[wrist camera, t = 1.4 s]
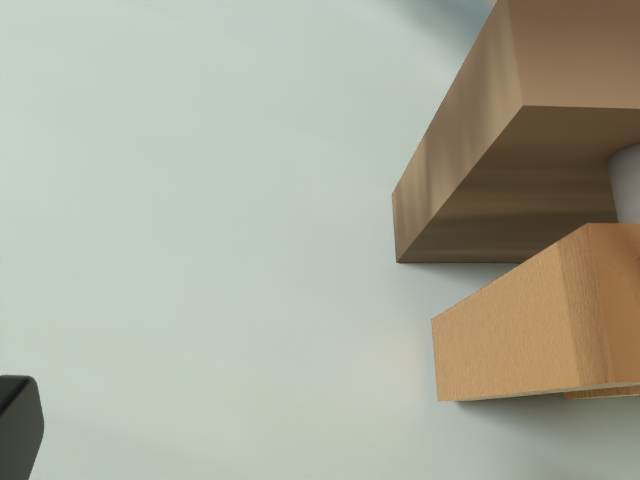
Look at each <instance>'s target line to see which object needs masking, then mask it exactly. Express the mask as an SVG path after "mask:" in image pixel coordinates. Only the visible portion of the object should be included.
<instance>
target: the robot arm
mask: <svg viewBox="0 0 640 480" xmlns="http://www.w3.org/2000/svg"><path fill="white" fill-rule="evenodd" d="M43 434H44V418H43V413H42V407H41V402H40V396H39V391H38V386H37V383H36V381H35V379H34V378H33V377H31V376H24V375H1V376H0V480H29V477H30V474H31V471H32V468H33V465H34V462H35V459H36V456H37V453H38V450H39V448H40V445H41V442H42V438H43Z"/></svg>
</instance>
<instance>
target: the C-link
mask: <svg viewBox="0 0 640 480" xmlns="http://www.w3.org/2000/svg"><path fill="white" fill-rule="evenodd" d="M431 322H432V334H433V346H434V358H435V371H436V383H437V395H438V401H473V400H483V399H494V398H505V397H516V396H527V395H538V394H548V393H559V392H563V396H564V399H590V398H609V397H625V396H640V224H630V223H587V224H585V225H583V226H582V227H580V228H578V229H577V230H575V231H574V232H572V233H570V234H569V235H567V236H565V237H564V238H562V239H561V240H559V241H557V242H556V243H554V244H553V245H551V246H549V247H548V248H546V249H544V250H543V251H541V252H540V253H538V254H536V255H535V256H533V257H532V258H530V259H528V260H527V261H525V262H523V263H522V264H520V265H519V266H517V267H515V268H514V269H512V270H511V271H509V272H507V273H506V274H504V275H502V276H501V277H499V278H498V279H496V280H494V281H493V282H491V283H490V284H488V285H486V286H485V287H483V288H481V289H480V290H478V291H477V292H475V293H473V294H472V295H470V296H469V297H467V298H465V299H464V300H462V301H460V302H459V303H457V304H456V305H454V306H452V307H451V308H449V309H448V310H446V311H444V312H443V313H441V314H439V315H438V316H436V317H435V318H433V319H431Z"/></svg>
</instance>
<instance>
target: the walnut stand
mask: <svg viewBox="0 0 640 480" xmlns="http://www.w3.org/2000/svg"><path fill="white" fill-rule="evenodd" d="M392 203H393V219H394V234H395V250H396V262H414V263H523V262H525V261H527V260H528V259H530V258H532V257H533V256H535V255H536V254H538V253H540V252H541V251H543V250H544V249H546V248H548V247H549V246H551V245H553V244H554V243H556V242H557V241H559V240H561V239H562V238H564V237H565V236H567V235H569V234H570V233H572V232H574V231H575V230H577V229H578V228H580V227H582V226H583V225H585V224H587V223H630V224H640V0H497V2H496V4H495V6H494V8H493V9H492V11H491V13H490V15H489V17H488V19H487V20H486V22H485V24H484V26H483V28H482V30H481V31H480V33H479V35H478V37H477V39H476V41H475V43H474V44H473V46H472V48H471V50H470V52H469V54H468V55H467V57H466V59H465V61H464V63H463V65H462V66H461V68H460V70H459V72H458V74H457V76H456V77H455V79H454V81H453V83H452V85H451V87H450V89H449V90H448V92H447V94H446V96H445V98H444V100H443V101H442V103H441V105H440V107H439V109H438V111H437V112H436V114H435V116H434V118H433V120H432V122H431V123H430V125H429V127H428V129H427V131H426V133H425V135H424V136H423V138H422V140H421V142H420V144H419V146H418V147H417V149H416V151H415V153H414V155H413V157H412V158H411V160H410V162H409V164H408V166H407V168H406V170H405V171H404V173H403V175H402V177H401V179H400V181H399V182H398V184H397V186H396V188H395V190H394V192H393V193H392Z"/></svg>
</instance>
